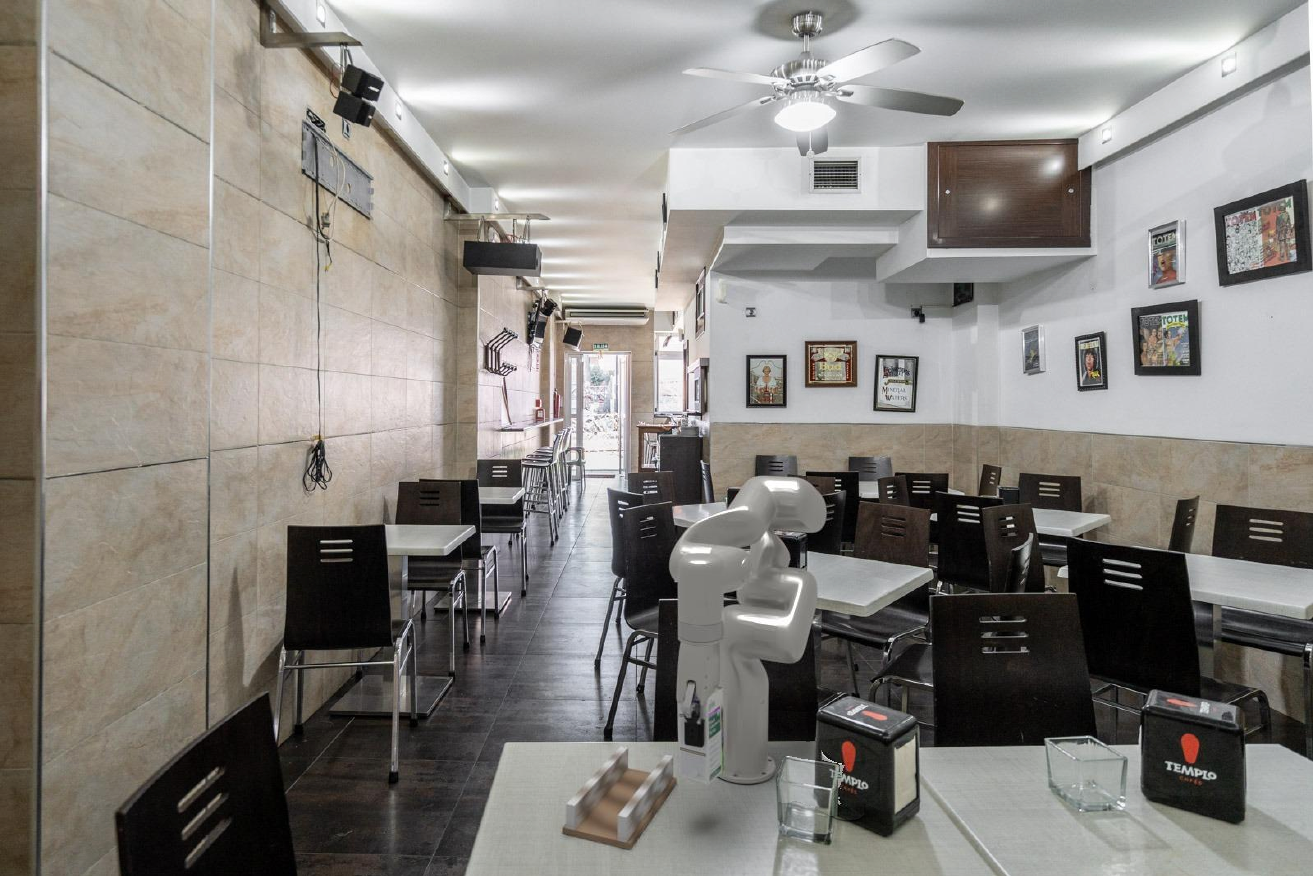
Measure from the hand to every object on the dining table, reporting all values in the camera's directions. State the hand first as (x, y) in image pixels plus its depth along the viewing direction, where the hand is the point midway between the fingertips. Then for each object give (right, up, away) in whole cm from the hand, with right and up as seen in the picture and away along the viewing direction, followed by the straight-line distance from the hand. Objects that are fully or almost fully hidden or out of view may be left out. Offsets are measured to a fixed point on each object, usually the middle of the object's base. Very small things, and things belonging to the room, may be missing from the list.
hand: (700, 735), depth 119 cm
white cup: (+25, -15, +5) cm, 30 cm away
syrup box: (0, -7, 0) cm, 7 cm away
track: (-13, -15, +6) cm, 21 cm away
